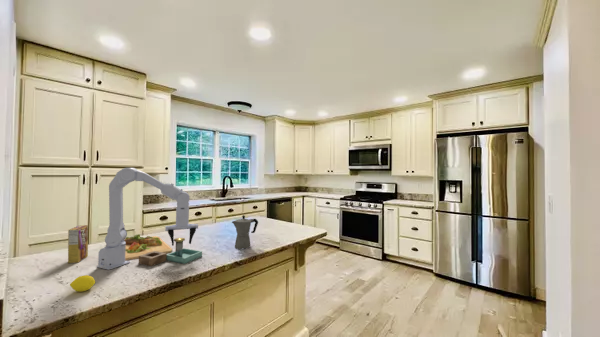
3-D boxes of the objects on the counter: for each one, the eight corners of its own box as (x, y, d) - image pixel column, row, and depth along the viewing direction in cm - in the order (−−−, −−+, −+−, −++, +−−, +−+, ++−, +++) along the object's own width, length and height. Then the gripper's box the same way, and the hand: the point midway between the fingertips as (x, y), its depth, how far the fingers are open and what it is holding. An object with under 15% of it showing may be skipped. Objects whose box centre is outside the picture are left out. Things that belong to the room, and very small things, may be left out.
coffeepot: (233, 250, 141) (234, 217, 141) (229, 245, 149) (230, 214, 149) (260, 247, 148) (261, 215, 148) (254, 242, 156) (255, 213, 156)
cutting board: (173, 253, 135) (173, 239, 135) (119, 263, 120) (119, 246, 120) (157, 238, 161) (158, 226, 161) (111, 244, 146) (111, 231, 146)
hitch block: (151, 266, 115) (151, 258, 115) (138, 263, 118) (138, 255, 118) (166, 260, 123) (166, 253, 123) (153, 258, 125) (154, 250, 125)
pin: (178, 259, 122) (179, 240, 122) (171, 258, 124) (171, 239, 124) (186, 256, 127) (187, 238, 127) (178, 255, 129) (179, 237, 129)
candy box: (77, 256, 124) (78, 225, 124) (88, 256, 125) (89, 224, 125) (66, 263, 115) (67, 229, 115) (78, 262, 117) (79, 229, 117)
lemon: (93, 287, 95) (96, 272, 96) (93, 292, 91) (97, 277, 92) (68, 289, 91) (72, 274, 92) (67, 295, 87) (71, 279, 87)
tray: (184, 263, 119) (184, 258, 119) (165, 260, 123) (165, 254, 123) (202, 256, 130) (202, 251, 130) (184, 253, 134) (184, 248, 134)
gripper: (165, 218, 119) (164, 248, 119) (199, 217, 126) (198, 244, 126) (165, 216, 125) (164, 244, 125) (197, 214, 132) (196, 241, 132)
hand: (181, 244), depth 126 cm, fingers open, 7 cm apart
